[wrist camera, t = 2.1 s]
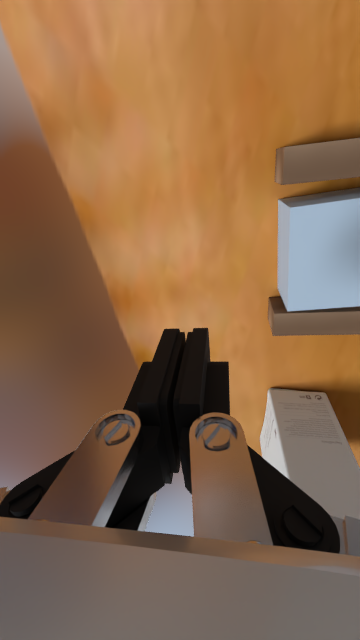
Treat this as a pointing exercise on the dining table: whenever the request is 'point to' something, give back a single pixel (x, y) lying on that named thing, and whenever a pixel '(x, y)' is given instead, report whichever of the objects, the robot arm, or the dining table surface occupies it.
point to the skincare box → (311, 449)
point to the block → (319, 250)
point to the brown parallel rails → (309, 167)
